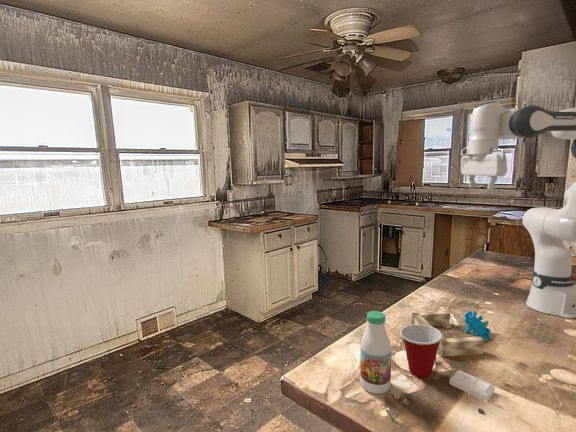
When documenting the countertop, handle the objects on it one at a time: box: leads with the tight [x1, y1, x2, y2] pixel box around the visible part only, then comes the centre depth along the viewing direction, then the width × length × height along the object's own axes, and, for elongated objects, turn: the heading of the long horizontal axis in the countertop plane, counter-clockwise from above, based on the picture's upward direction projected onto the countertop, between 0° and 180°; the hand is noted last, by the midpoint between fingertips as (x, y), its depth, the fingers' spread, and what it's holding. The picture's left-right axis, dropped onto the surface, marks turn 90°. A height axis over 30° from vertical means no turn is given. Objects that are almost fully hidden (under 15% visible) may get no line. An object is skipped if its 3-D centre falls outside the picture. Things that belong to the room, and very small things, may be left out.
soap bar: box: [448, 370, 496, 402], centre depth 84 cm, size 5×9×3 cm, turn 40°
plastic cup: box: [399, 324, 443, 379], centre depth 90 cm, size 11×11×12 cm
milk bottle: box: [359, 310, 392, 395], centre depth 84 cm, size 8×8×20 cm
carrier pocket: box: [411, 310, 485, 358], centre depth 107 cm, size 13×20×4 cm, turn 4°
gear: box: [463, 310, 492, 342], centre depth 109 cm, size 11×6×10 cm
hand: (481, 188), depth 118 cm, fingers open, 8 cm apart
